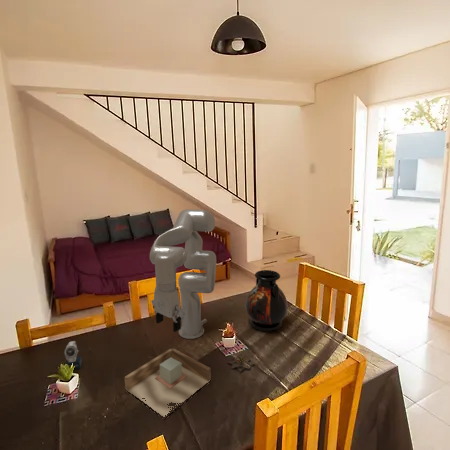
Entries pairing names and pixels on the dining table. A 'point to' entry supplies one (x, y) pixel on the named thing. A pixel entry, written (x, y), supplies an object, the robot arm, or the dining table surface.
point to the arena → (163, 391)
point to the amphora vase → (266, 302)
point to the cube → (170, 370)
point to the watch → (72, 355)
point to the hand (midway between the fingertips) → (168, 326)
